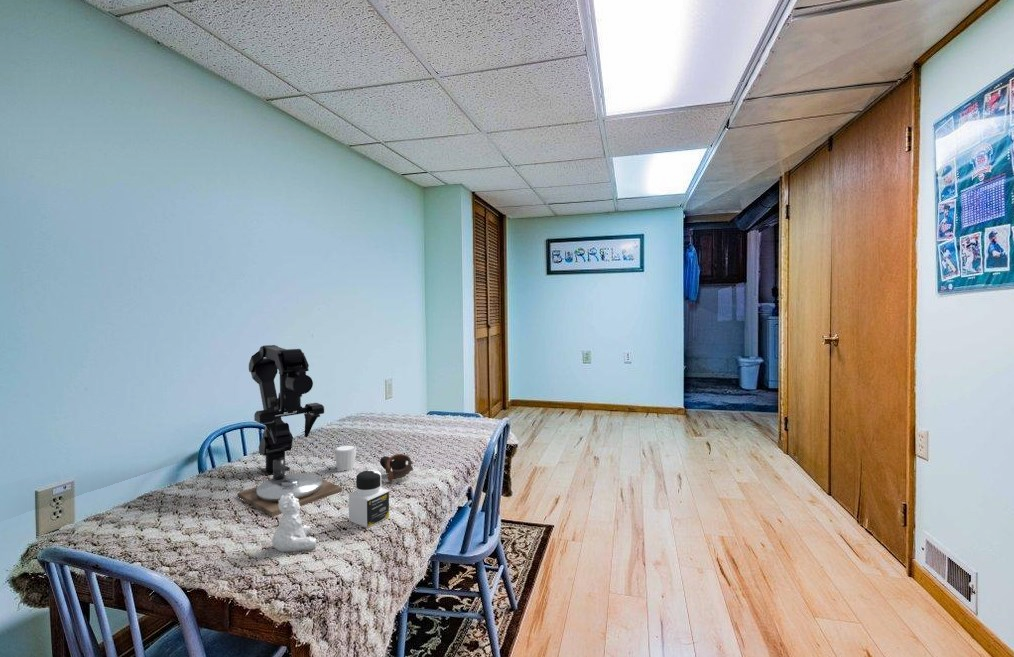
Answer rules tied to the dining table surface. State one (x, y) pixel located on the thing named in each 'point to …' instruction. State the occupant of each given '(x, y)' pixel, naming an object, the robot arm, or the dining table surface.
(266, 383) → the robot arm
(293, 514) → the sitting furry creature
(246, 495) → the walnut board
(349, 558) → the dining table surface
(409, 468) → the pottery mug
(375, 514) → the medicine bottle
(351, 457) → the shot glass
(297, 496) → the handwheel
